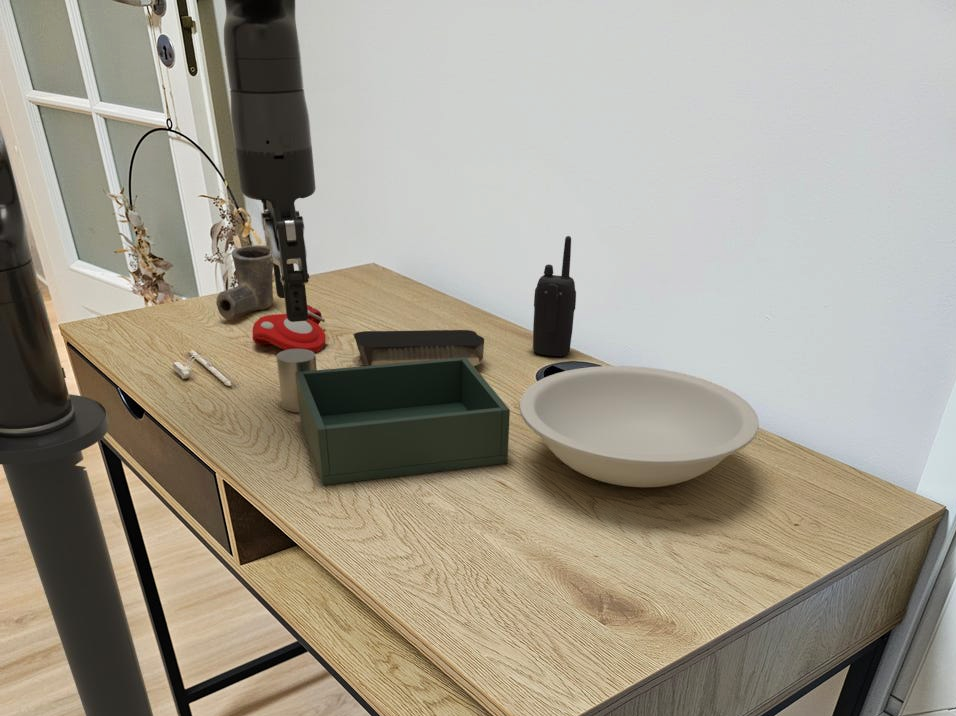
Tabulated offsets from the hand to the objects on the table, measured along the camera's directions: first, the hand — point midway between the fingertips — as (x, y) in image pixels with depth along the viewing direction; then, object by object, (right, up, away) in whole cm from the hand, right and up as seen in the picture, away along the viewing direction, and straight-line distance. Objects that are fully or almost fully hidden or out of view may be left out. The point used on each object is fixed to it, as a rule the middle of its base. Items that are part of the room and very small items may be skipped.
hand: (292, 308), depth 98 cm
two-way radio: (+30, +2, +22) cm, 38 cm away
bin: (+12, -15, -1) cm, 19 cm away
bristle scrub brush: (+13, 0, +19) cm, 23 cm away
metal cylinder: (0, -9, +7) cm, 11 cm away
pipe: (-13, +12, +34) cm, 39 cm away
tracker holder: (-4, +4, +24) cm, 25 cm away
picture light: (-15, -3, +14) cm, 21 cm away
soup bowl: (+37, -19, -4) cm, 41 cm away
